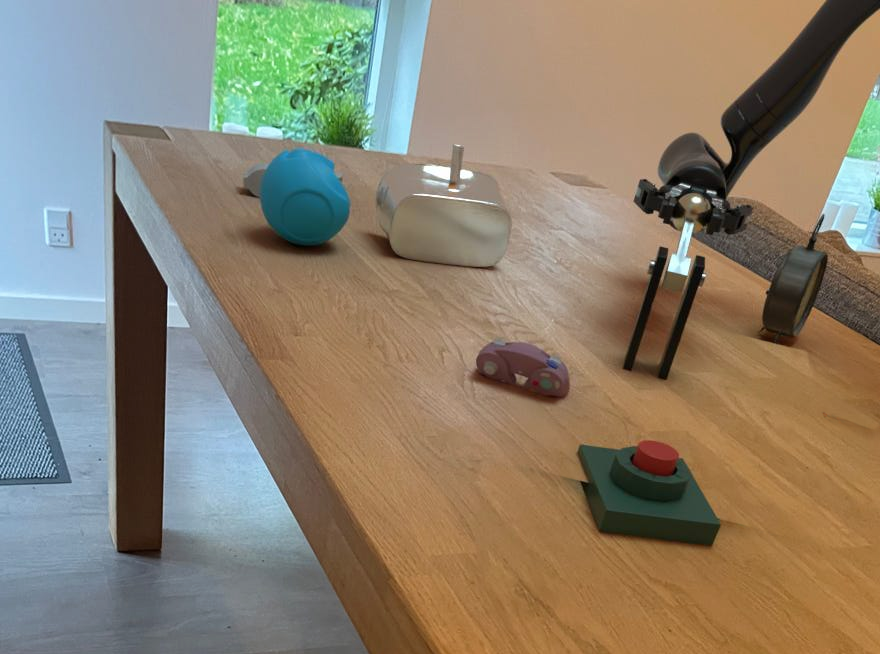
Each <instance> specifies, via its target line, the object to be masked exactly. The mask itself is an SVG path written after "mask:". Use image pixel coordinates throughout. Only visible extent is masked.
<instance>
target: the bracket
mask: <svg viewBox="0 0 880 654" xmlns="http://www.w3.org/2000/svg"><path fill="white" fill-rule="evenodd" d="M668 255H669V247H664V246H659V247H658V250H657V252H656V257H655V260H653V259H651V260H650V261H649V265H648V268H647V272H646V274H647V275H650V276H649V278H648V282H647V286H646V287H645V288H646V289H645V292H644V295H643V298H642V302H641V305H640V308H639V311H638V314H637V317H636V321H635V324H634V328H633V329H632V333H631V337H630V339H629V343H628V346H627V349H626V353H625V356H624V360H623V364H622V370H624V371H628V372H632V370H633V367H634V364H635V361H636V358H637V355H638V351H639V348H640V345H641V343H642V338H643V336H644V332H645V329H646V326H647V324H648V320H649V317H650V313H651V311H652V307H653V304H654V302H655V298H656V295H657V293H658V289H659V285H660V282H661V280H662V277H663V274H664V270H665V267H666V264H667V261H668ZM705 270H706V257H705V256H702V255H698V254H696V255H695V257H694V260H693V264H692V266H691V270H690V271H689V274H688V277H687V280H686V283H685V286H684V290H683V293H682V296H681V299H680V302H679V305H678V308H677V310H676V314H675V316H674V320H673V323H672V326H671V329H670V332H669V335H668V338H667V341H666V344H665V346H664V349H663V352H662V356H661V359H660V362H659V364H658V371H657V379H660V380H664V381H667V380H668V377H669V374H670V372H671V368H672V365H673V363H674V359H675V356H676V354H677V350H678V347H679V345H680V342H681V340H682V336H683V333H684V330H685V328H686V324H687V321H688V319H689V316H690V312H691V309H692V308H693V307H692V306H693V304H694V301H695V298H696V295H697V293H698V289H699V287H700V288H702V287H704V286H703V285H704V284H705V281H706V278H707V273H706V272H705Z"/></svg>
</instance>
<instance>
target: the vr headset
mask: <svg viewBox="0 0 880 654" xmlns="http://www.w3.org/2000/svg"><path fill="white" fill-rule="evenodd" d="M464 151H465V147H464V146H462V145H459V144H455V143H453V144H452V151H451V159H450V167H448V166H441V165H436V164H435V165H434V164H428V163H403V164H399V165H396V166H393V167H391V168H390V169H388V170H387V171H386V172H385V174H384V175H383V176H382V178H381V179H380V182H379V184H378V187H377V190H376V195H375V215H376V220H377V222H378V225H379V227H380V229H381V230H382V231H383V233H384V234H385V235H386V237H387V240H388V242H389V245H390V247H391V249H392V251H393V252H394V253H395V254H396V255H398V256H399V257H401V258H404V259H409V260H413V261H419V262H426V263H427V262H428V263H435V264H442V265H450V266H451V265H452V266H460V267H461V266H462V267H472V268H473V267H474V268H475V267H476V268H486V267H487V268H488V267H492V266H495V265H497V264H498V263H500V261H502V259H503V258H504V256H505V254H506V251H507V249H508V246H509V243H510V238H511V234H512V233H511V232H512V227H513V219H512V215H511V213H510V210H509V209H508V206H507V204H506V202H505V200H504V198H503V195H502V191H501V186H500V184H499V182H498V181H497V180H496V178H494V177H492V176H491V175H489V174H486V173H484V172H480V171H475V170H470V169H464V168H462V167H463V159H464Z"/></svg>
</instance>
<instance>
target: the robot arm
mask: <svg viewBox="0 0 880 654" xmlns="http://www.w3.org/2000/svg"><path fill="white" fill-rule="evenodd" d="M879 10H880V0H825V1H824V2H823V3H822V5H821V6H820V7H819V8H818V10H817V11H816V12H815V14H814V15H813V16H812V17H811V18H810V20H809V21H808V22H807V24H805V26H804V28H803V29H801V31H800V32H799V33H798V34H797V35H796V37H795V39H794V40H793V41H792V42H791V43H790V44H789V46H788V47H787V48H786V49H785V50H784V51H783V52H782V53H781V55H779V56H778V58H777V59H775V60H774V62H773V63H771V65H770V66H769V67H768V68H767V69H766V70H765V71H764V72H763V73H762V74H761V75H760V76H758V78H757V79H756V80H754V82H753V83H751V84H750V85H749V86H748V87H747V88H746V89H745V90H744V91H743V92H742V93H741V94H740V95H739V96H738V97H737V98H736V99H735V100H734V101H733V102H732V103H731V104H730V105H729V106H728V107H726V109H725V110H724V111H723V113H722V114H721V116H720V127H721V130H722V132H723V134H724V137H725V139H726V140H727V142H728V145H729V148H730V152H731V154H730V159H729V160H728V162H725V161H724V160H723V159H722V158H721V156H720V155H719V153H717V151H716V150H715V149H714V148H713V147H712V146H711V144H710V143H709V142H708V141H707V140H706V138H705V137H703V135H701V134H700V133H697V132H686V133H683V134H681V135H680V136H678V137H676V138H675V139H674V140H673V141H671V143H669V144H668V146H666V148H665V150H664V151H663V153H662V154H661V156H660V158H659V161H658V163H657V164H658V165H657V176H658V178H659V180H660V182H661V183H662V185H661V186H660V187H659V188H657V187H656V184H655V183H652V182H651V181H650V180H648V179H647V178H640V179H639V181H638V185H637V188H636V192H635V195H634V197H633V203H634V204H635V205H636V206H637V207H638V208H639V209H640V210H641V211H642V212H643V213H644V214H645V215H653V214H654V212H657V213H658V214H657V217H658V218H659V219H661V220H663V221H662V224H664V225H669V226H670V227H671V228H672V229H674V230H675V231H678V232H680V231H679V230H678V229H677V228H676V227H675V225H674V223H673V220H672V213H673V210H674V207H675V204H676V202H677V201H678V200H679V199H680V198H681V197H683V196H684V195H686V194H689V193H698V194H701V195H703V196H704V197H705V198H707V200H708V201H709V203H710V206H711V217H710V220H709V222H708V223H707V225H706V226H705V227H704V228H703V229H702V230H701V231H699V232H702V231H706V232H705V235H708V236H714V233H717V234H719V233H721V231H722V229H724V230H723V233H725V234H726V235H728V236H733V235H736V234H739V233H741V232H743V231H746V230H747V227H748V224H749V222H750V220H751V216H752V213H753V210H754V207H753V206H752V205H751V204H743V205H740V204H737V205H736V207H734V208H731V202H730V201H729V200H727V198H728V196H729V195H730V193H731V192H732V190H733V189H734V187H735V186H736V184H737V183H738V181H739V179H740V178H741V176H742V175H743V174H744V172H745V171H746V170H747V168H748V167H749V166H750V164H751V163H752V162H753V161H754V159H755V158H757V156H758V155H759V154H760V153H761V152H762V151H763V150H764V149H765V148H766V147H767V146H768V145H769V144H770V143H771V142H772V141H773V140H774V139H775V138H777V137H778V136H779V135H780V134H781V133H783V131H784V130H785V129H786V128H788V126H789V127H790V125H791V124H792V123H793V122H794V121H795V120H796V119H798V117H799V116H800V115H801V114H802V113H803V112H804V111H805V110H806V109H807V107H808V106H809V105H810V103H811V102H812V101H813V99H814V98H815V96H816V94H817V93H818V91H819V89H820V88H821V85H822V84H823V82H824V80H825V78H826V76H827V74H828V72H829V70H830V69H831V66H832V64H833V63H834V61H835V59H837V56H838V54H839V53H840V51H841V50H843V49H842V48H843V47H844V46H845V44H846V43H847V42H848V40H849V39H850V38H851V37H852V35H853V34H854V33H855V32H856V31H857V30H858V29H859V28H860V27H861V26H862V25H863V24H864V23H865V22H866V21H868V19H870V18H871V17H872V16H873V15H875V14H876V13H877V12H878V11H879ZM699 232H698V233H699Z"/></svg>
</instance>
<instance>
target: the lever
mask: <svg viewBox="0 0 880 654" xmlns="http://www.w3.org/2000/svg"><path fill="white" fill-rule="evenodd" d="M710 217H711V206H710V203H709V201H708V200H707V198H705V197H704V196H703V195H701V194H698V193H689V194H686V195H684V196H683V197H681V198H680V199H679V200H678V201H677V202H676V204H675V207H674V210H673V213H672V220H673V223H674V225H675V227H676V228H677V229H678V230H679V231H678V230H677V231H678V232H680V235H679V240H678V243H677V247H676V251H675V253H671V254H670V257H669V259H668V260H669V261H668V263H667V266H666V268H665V272H664V276H663V280H662V283H661V287H660V289H662V290H666V291H669V292H674V293H678V294H682V292H683V291H684V290H683V289H684V288H685V285H686V283H687V280H688V277H689V273H690V268H691V264H692V260H693V259H692V257H687V256H688V251H689V248H690V243H691V241H692V240H691V239H692V237H693V236H692V235H693V234H696V233H699V231H700V232H702V231H701V230H702V229H703V228H704V227H705V226H706V225H707V223H708V222H709V220H710Z"/></svg>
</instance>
